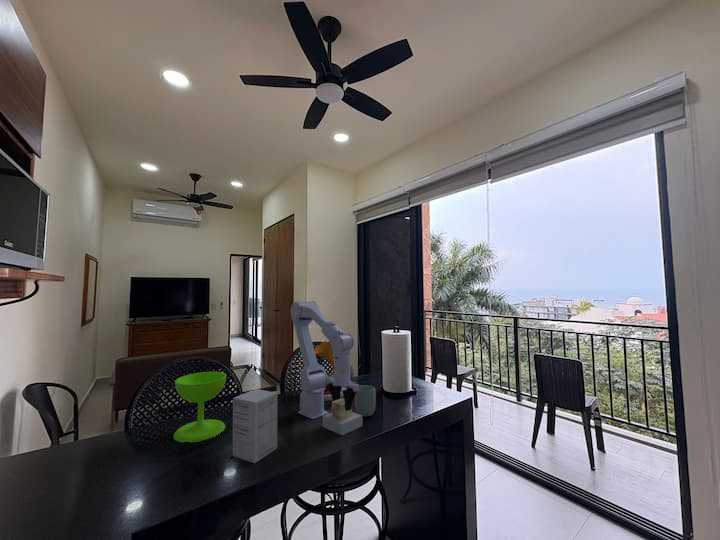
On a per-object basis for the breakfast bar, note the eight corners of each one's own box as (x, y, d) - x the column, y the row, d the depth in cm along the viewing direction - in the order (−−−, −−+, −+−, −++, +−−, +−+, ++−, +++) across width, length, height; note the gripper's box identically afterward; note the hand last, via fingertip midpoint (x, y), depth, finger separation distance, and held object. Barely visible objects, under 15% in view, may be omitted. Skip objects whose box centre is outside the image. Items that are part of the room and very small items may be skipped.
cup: (367, 420, 116) (367, 392, 116) (351, 415, 120) (351, 388, 121) (379, 413, 122) (379, 387, 123) (363, 409, 127) (363, 384, 127)
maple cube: (331, 416, 111) (331, 401, 111) (342, 412, 115) (342, 398, 115) (341, 420, 108) (341, 405, 108) (351, 415, 111) (351, 401, 112)
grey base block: (322, 427, 111) (322, 416, 111) (343, 419, 118) (343, 408, 118) (341, 436, 104) (341, 424, 104) (362, 427, 111) (362, 415, 112)
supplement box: (256, 442, 100) (256, 388, 101) (278, 448, 96) (278, 392, 97) (231, 456, 92) (232, 397, 93) (254, 464, 87) (255, 402, 88)
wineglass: (204, 444, 98) (206, 386, 100) (161, 440, 102) (163, 383, 103) (234, 423, 114) (235, 372, 115) (196, 420, 117) (197, 371, 118)
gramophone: (331, 384, 161) (331, 334, 163) (356, 394, 146) (356, 339, 147) (295, 392, 148) (295, 339, 150) (318, 404, 132) (318, 344, 134)
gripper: (320, 367, 114) (320, 405, 114) (348, 374, 104) (348, 416, 104) (335, 363, 120) (335, 400, 119) (363, 370, 110) (363, 410, 109)
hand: (342, 407), depth 112 cm, fingers open, 5 cm apart
